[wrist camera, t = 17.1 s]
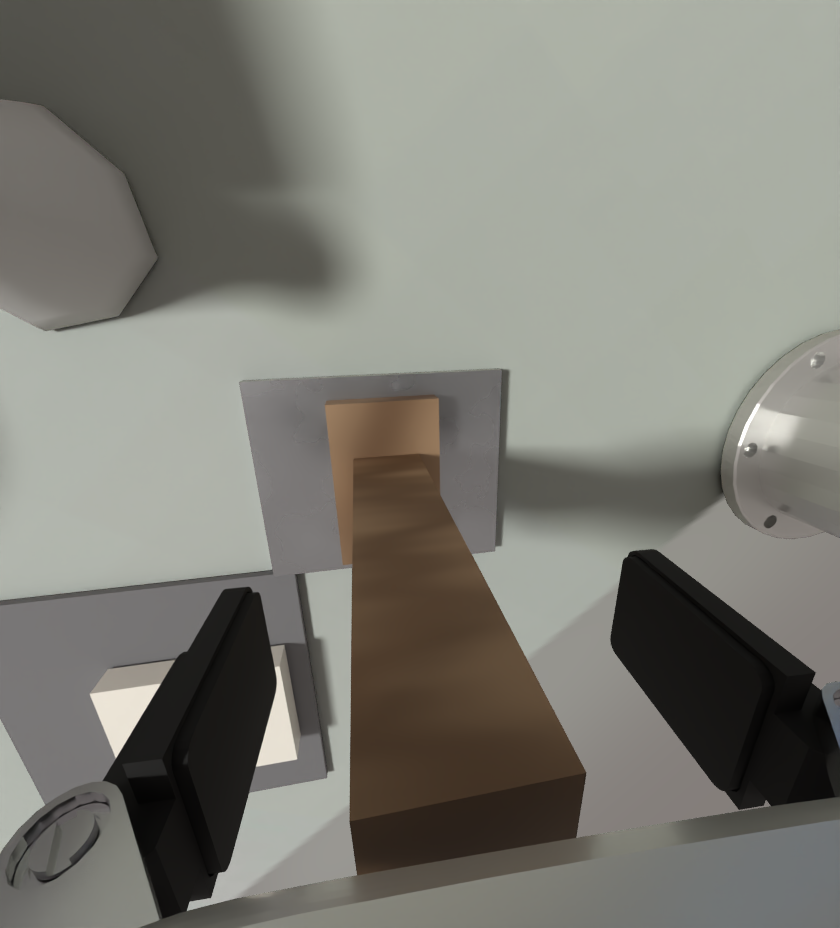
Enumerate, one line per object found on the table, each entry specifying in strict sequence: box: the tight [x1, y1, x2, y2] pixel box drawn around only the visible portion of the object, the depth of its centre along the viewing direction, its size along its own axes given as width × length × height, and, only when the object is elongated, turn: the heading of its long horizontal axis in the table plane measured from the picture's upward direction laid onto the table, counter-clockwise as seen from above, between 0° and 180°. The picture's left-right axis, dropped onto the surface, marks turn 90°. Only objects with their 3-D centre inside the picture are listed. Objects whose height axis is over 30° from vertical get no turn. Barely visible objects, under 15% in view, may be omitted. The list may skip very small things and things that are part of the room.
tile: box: [90, 645, 301, 767], centre depth 22 cm, size 2×7×9 cm
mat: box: [0, 570, 327, 805], centre depth 22 cm, size 16×16×1 cm
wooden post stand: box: [325, 394, 586, 875], centre depth 12 cm, size 5×8×15 cm, turn 2°
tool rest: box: [239, 369, 502, 577], centre depth 20 cm, size 12×10×1 cm
